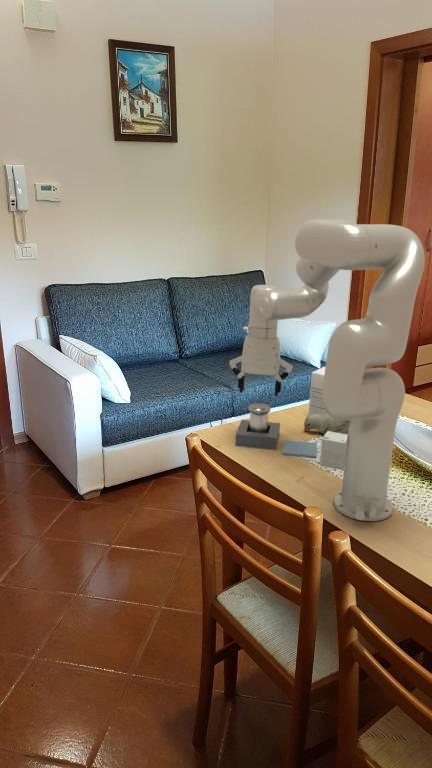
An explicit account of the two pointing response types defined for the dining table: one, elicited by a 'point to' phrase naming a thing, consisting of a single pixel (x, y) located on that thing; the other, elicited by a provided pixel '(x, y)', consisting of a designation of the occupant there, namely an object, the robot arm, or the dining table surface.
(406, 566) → the dining table surface
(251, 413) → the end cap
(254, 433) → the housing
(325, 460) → the skincare box
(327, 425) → the decorative bird
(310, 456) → the mat
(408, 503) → the dining table surface
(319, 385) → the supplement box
